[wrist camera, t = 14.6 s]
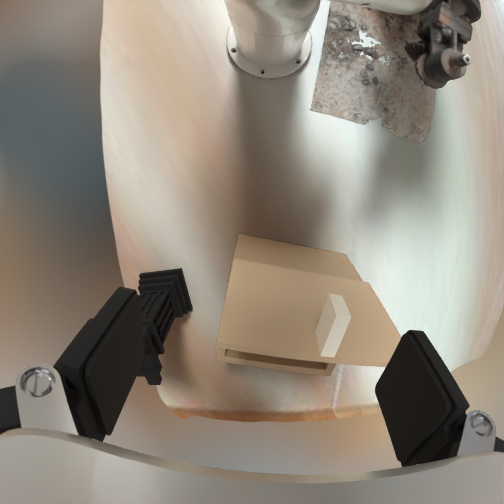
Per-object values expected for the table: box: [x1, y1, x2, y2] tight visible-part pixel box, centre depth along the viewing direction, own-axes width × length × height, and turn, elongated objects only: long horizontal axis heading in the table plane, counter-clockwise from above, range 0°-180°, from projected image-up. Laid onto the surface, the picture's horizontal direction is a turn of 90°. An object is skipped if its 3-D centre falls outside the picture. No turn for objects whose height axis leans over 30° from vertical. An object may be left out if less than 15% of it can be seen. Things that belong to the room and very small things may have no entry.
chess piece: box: [137, 268, 193, 385], centre depth 43 cm, size 8×8×20 cm
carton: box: [216, 234, 363, 376], centre depth 46 cm, size 16×18×12 cm
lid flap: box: [215, 259, 401, 367], centre depth 29 cm, size 16×18×5 cm
